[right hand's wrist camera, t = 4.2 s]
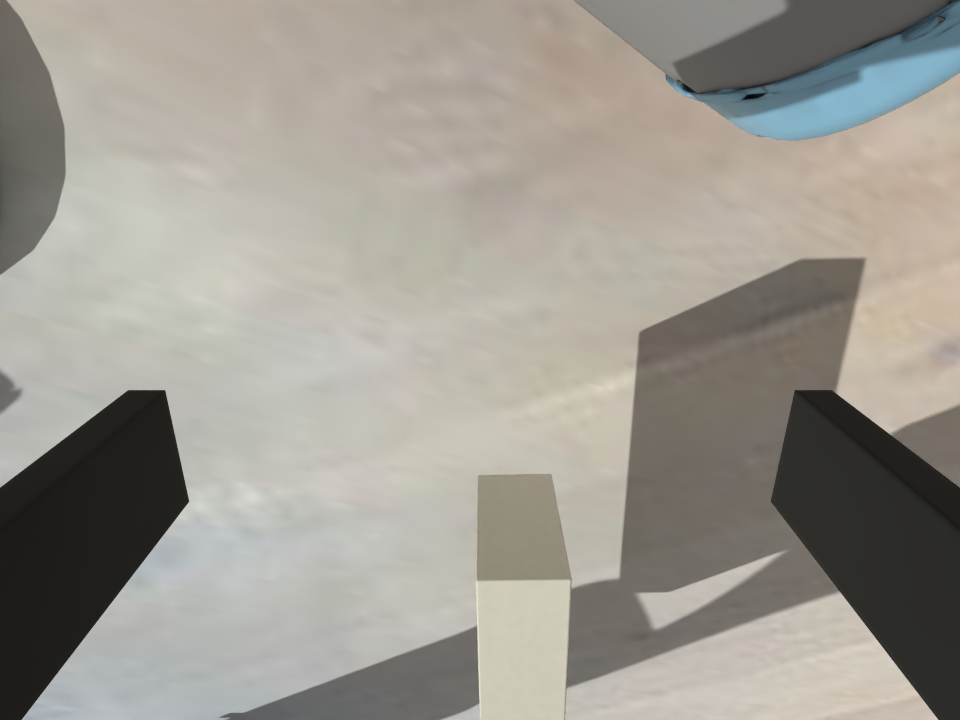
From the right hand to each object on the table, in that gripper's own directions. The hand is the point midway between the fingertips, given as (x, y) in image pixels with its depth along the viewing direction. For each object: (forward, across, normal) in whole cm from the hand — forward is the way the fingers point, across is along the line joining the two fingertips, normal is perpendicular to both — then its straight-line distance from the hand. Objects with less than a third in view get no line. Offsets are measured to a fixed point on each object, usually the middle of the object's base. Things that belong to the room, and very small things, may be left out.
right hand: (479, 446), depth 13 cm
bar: (+20, +2, -25) cm, 32 cm away
